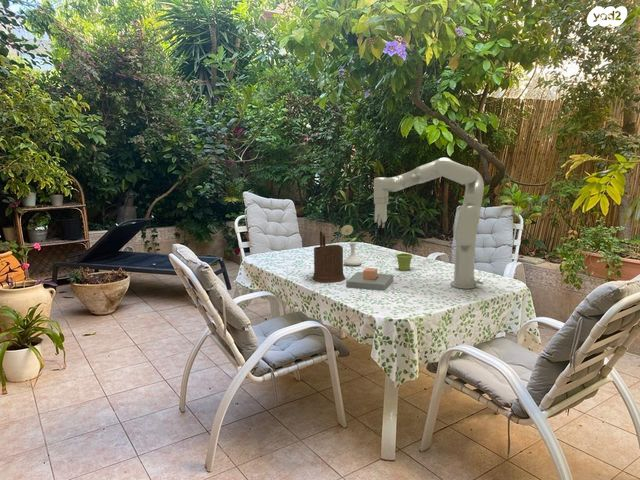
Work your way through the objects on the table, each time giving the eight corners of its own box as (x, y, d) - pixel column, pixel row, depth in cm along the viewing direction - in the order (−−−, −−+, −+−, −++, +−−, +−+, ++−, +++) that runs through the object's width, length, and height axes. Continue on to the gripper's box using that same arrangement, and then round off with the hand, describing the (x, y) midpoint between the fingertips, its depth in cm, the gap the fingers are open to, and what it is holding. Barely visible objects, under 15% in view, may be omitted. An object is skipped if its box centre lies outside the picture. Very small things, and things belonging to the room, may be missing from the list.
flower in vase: (362, 262, 280) (362, 223, 275) (362, 267, 269) (362, 226, 264) (341, 262, 281) (341, 223, 277) (340, 266, 270) (340, 226, 266)
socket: (393, 280, 239) (393, 274, 238) (384, 290, 220) (384, 284, 220) (357, 277, 246) (357, 272, 245) (346, 286, 228) (346, 281, 227)
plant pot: (411, 272, 255) (411, 257, 254) (394, 270, 258) (394, 256, 257) (413, 268, 264) (413, 253, 262) (397, 267, 267) (397, 253, 265)
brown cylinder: (316, 284, 233) (316, 237, 229) (306, 273, 256) (305, 230, 252) (350, 281, 238) (350, 235, 234) (336, 270, 261) (336, 228, 256)
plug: (377, 281, 235) (377, 268, 233) (374, 284, 229) (374, 271, 228) (366, 280, 237) (366, 267, 236) (363, 283, 231) (363, 270, 230)
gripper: (377, 199, 242) (377, 232, 245) (370, 202, 228) (371, 237, 231) (390, 199, 240) (391, 233, 243) (385, 202, 226) (385, 237, 229)
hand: (381, 235), depth 237 cm, fingers closed
